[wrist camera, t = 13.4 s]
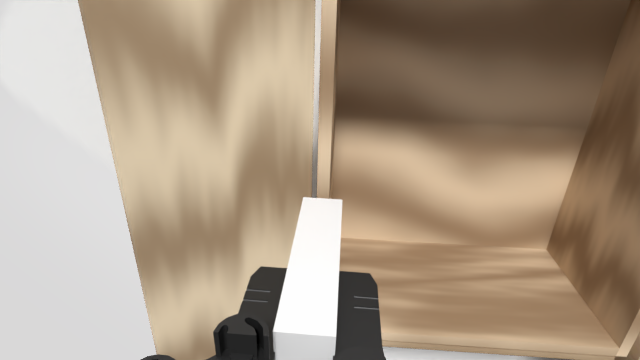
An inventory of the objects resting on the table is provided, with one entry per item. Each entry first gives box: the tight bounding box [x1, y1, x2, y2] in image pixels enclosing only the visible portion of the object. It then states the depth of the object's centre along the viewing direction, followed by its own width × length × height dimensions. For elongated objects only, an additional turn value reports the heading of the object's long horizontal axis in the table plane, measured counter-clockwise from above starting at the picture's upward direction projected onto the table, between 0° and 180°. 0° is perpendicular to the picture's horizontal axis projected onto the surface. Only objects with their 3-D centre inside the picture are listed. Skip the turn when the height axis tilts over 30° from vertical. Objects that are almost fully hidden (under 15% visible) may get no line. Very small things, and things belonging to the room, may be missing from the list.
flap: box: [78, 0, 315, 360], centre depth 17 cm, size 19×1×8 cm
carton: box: [317, 0, 640, 360], centre depth 23 cm, size 21×18×10 cm
